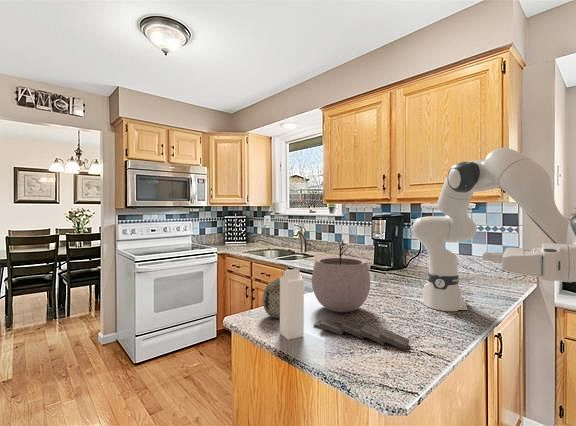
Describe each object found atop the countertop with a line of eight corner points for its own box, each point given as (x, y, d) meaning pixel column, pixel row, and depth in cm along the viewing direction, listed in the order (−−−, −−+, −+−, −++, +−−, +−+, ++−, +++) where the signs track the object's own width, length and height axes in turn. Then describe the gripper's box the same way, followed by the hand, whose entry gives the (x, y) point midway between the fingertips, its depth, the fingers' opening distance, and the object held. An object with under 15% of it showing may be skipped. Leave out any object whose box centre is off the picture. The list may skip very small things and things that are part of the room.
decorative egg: (256, 317, 121) (256, 279, 121) (277, 310, 130) (277, 274, 129) (278, 325, 113) (278, 284, 113) (299, 317, 122) (299, 278, 122)
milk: (279, 333, 106) (279, 268, 106) (295, 330, 109) (295, 267, 109) (288, 340, 101) (287, 272, 101) (304, 336, 104) (303, 270, 103)
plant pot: (332, 324, 115) (332, 242, 114) (301, 305, 136) (301, 236, 136) (382, 314, 125) (383, 239, 124) (346, 298, 147) (347, 234, 146)
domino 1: (340, 329, 112) (320, 324, 116) (340, 324, 112) (320, 320, 116) (333, 333, 108) (313, 328, 112) (333, 329, 108) (313, 324, 112)
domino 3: (367, 333, 106) (344, 324, 110) (368, 329, 106) (345, 319, 109) (363, 339, 102) (340, 329, 105) (364, 334, 101) (341, 324, 105)
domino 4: (387, 339, 102) (364, 328, 106) (389, 335, 101) (365, 324, 105) (383, 345, 97) (359, 333, 101) (384, 340, 97) (360, 329, 101)
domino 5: (408, 344, 98) (383, 332, 102) (409, 339, 98) (384, 328, 102) (404, 350, 94) (378, 338, 98) (406, 345, 93) (380, 333, 97)
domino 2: (344, 329, 109) (322, 321, 112) (345, 324, 109) (323, 317, 112) (341, 335, 105) (319, 327, 107) (343, 331, 104) (320, 322, 107)
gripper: (548, 244, 83) (487, 241, 92) (554, 253, 67) (478, 248, 75) (547, 268, 84) (486, 262, 92) (553, 282, 67) (478, 274, 76)
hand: (483, 256), depth 84 cm, fingers closed
